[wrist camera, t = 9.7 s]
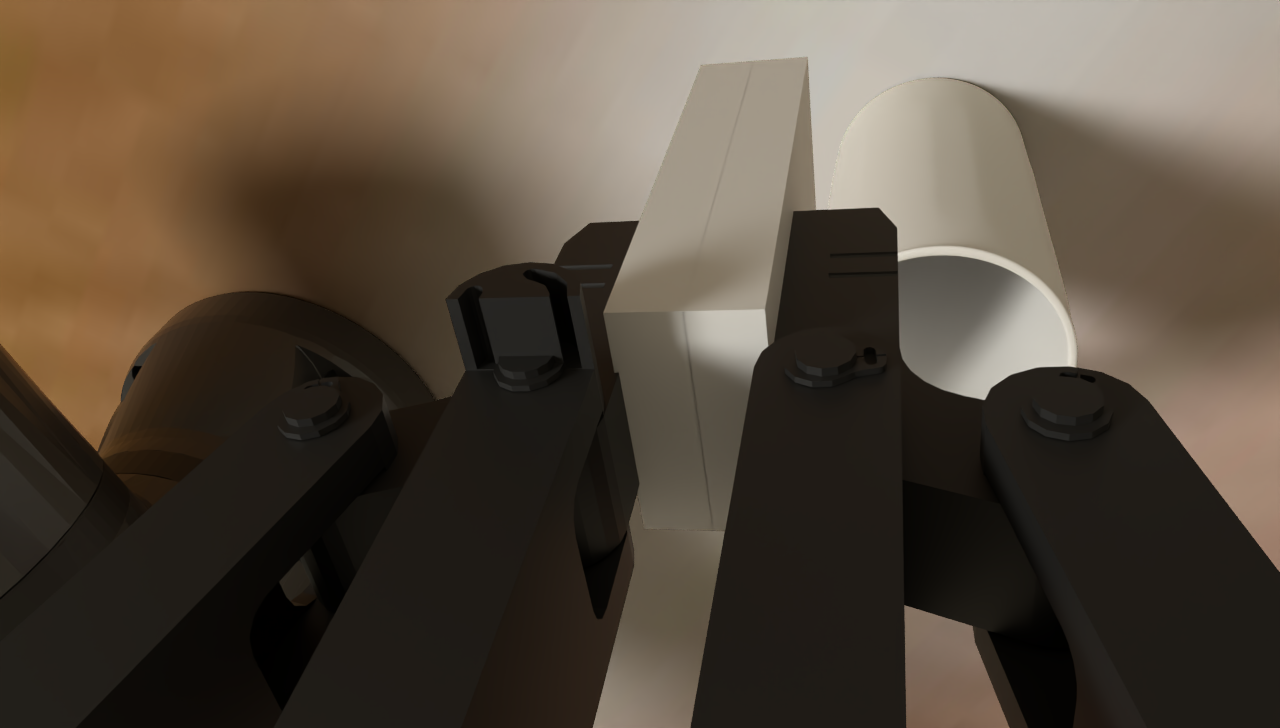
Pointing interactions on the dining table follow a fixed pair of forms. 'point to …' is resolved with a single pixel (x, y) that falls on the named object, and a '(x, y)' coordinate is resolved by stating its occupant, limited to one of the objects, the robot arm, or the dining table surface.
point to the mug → (959, 233)
